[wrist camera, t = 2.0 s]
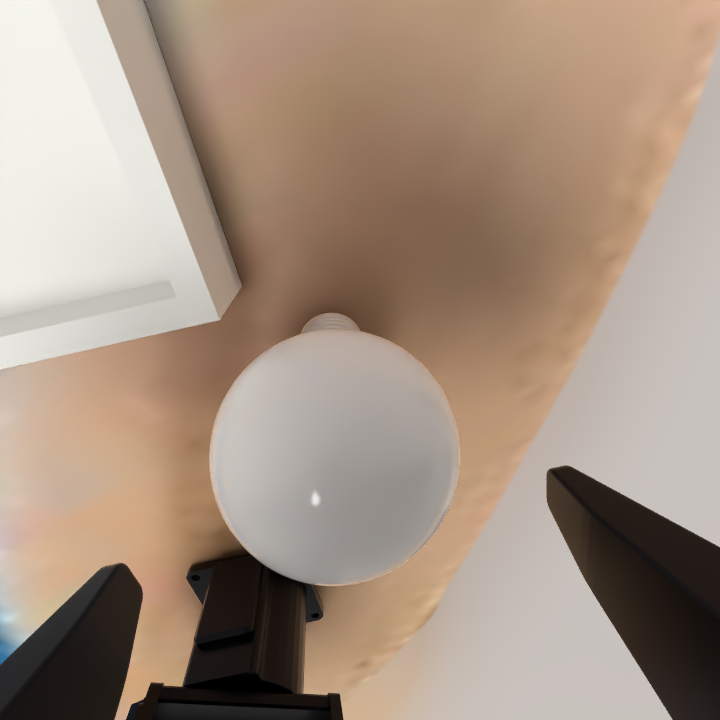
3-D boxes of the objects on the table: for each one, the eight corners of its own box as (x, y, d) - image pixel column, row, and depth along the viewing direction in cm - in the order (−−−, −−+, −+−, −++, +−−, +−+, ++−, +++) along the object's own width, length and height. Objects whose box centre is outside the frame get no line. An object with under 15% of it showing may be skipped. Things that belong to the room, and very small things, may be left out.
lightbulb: (429, 306, 17) (568, 489, 8) (359, 417, 20) (396, 671, 10) (295, 235, 16) (251, 353, 6) (234, 365, 18) (127, 610, 8)
